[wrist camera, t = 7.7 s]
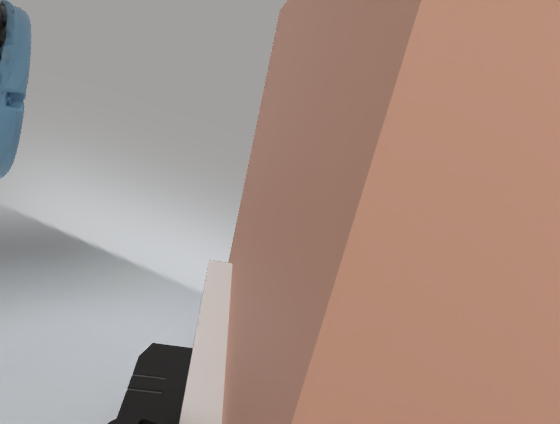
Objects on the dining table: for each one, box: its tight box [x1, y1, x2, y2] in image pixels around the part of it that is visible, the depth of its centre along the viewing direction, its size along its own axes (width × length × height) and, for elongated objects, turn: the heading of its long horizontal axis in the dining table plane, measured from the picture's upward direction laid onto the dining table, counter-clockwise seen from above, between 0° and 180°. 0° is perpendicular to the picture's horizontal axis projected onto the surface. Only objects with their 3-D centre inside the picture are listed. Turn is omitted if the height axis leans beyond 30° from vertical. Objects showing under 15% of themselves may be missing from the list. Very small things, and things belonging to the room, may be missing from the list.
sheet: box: [222, 0, 560, 424], centre depth 11 cm, size 12×2×20 cm, turn 5°
